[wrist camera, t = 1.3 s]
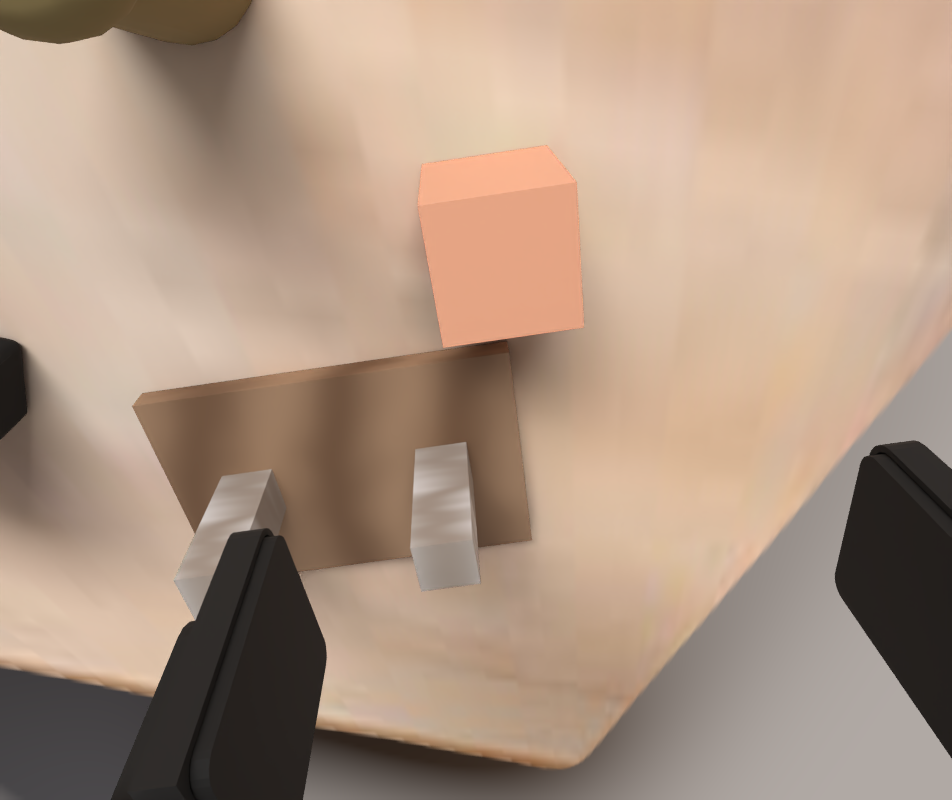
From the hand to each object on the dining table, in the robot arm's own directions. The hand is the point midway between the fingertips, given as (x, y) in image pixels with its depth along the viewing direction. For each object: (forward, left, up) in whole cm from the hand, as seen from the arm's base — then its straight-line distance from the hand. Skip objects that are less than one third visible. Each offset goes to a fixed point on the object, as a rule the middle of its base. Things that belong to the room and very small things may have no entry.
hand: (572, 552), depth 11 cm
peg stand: (+9, +12, -20) cm, 25 cm away
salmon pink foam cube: (0, 0, -20) cm, 20 cm away
